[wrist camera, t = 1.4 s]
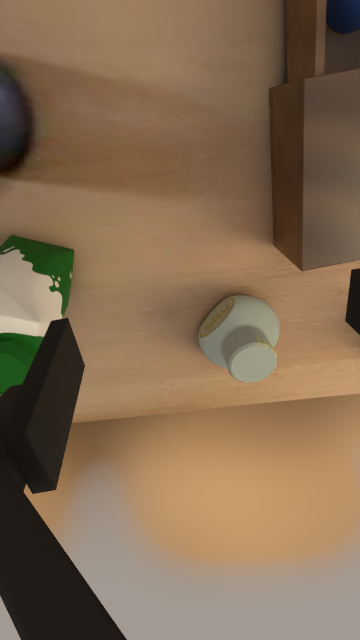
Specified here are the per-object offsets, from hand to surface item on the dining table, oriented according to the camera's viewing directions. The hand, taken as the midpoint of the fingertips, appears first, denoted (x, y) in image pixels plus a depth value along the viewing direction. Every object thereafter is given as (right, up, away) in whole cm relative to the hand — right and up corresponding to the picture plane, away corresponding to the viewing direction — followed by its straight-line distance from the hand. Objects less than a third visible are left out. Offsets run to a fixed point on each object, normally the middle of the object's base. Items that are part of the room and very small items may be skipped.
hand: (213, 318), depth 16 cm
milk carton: (-19, +6, +26) cm, 33 cm away
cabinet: (+16, +18, +23) cm, 33 cm away
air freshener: (+6, 0, +33) cm, 33 cm away
